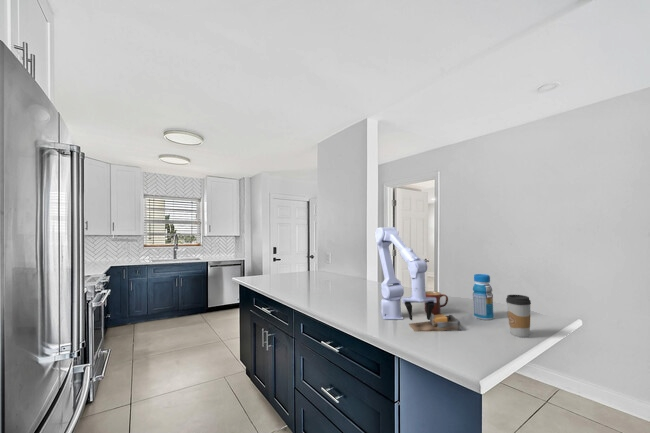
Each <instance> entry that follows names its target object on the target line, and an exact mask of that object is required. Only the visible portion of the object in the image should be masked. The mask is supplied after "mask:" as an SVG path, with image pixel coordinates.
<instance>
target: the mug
mask: <svg viewBox="0 0 650 433" xmlns="http://www.w3.org/2000/svg"><path fill="white" fill-rule="evenodd" d="M425 293H426V297H435V298H436V301H437V303H434V304H435V305H434V308H433V310H432V312H431V313H432V314H433V315H440V314H441V310H442V309H441V308H444V307H446V306H447V305H448V302H449V297H448V295H446V294H444V293H441V292H438V291H432V290H431V291H425ZM442 297H445V301H444V303H443V304H441V298H442ZM424 312H425V314H426V315H427V309H426V302H424Z"/></svg>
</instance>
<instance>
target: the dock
mask: <svg viewBox="0 0 650 433" xmlns="http://www.w3.org/2000/svg"><path fill="white" fill-rule="evenodd" d="M445 316H446V317H447V321H448V322H437V324H438V326H433V325H432V324H431V323H430V320H428V321H420V322H412V323H408V325H409V326H410V328H411V329H412V330H413V332H415V333H416V332H460V331H461V321H460V320H458V318H456V317H455V316H453V315H452V314H449V315H445Z"/></svg>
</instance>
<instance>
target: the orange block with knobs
mask: <svg viewBox="0 0 650 433" xmlns="http://www.w3.org/2000/svg"><path fill="white" fill-rule="evenodd" d="M446 316H447V315H445V314H444V313H440V314H439V315H433V314H432V313H431V316H430V320H429V321H430V323H431V324H432V325H433V326H438V324H437V322H448V321H447V317H446Z"/></svg>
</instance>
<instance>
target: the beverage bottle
mask: <svg viewBox="0 0 650 433" xmlns="http://www.w3.org/2000/svg"><path fill="white" fill-rule="evenodd" d="M473 281H474V284H473V287H472V290H473V293H472V300H473V316H474V318H476V319H477V320H478V319H479V320H485V321H486V320H488V321H490V320H493V319H494V317H495V316H494V294H493V293H492V292H493V288H492V286H491V285H490V283H491V276H490V275H489V274H482V273H477V274H476V273H475V274H474V275H473Z"/></svg>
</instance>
